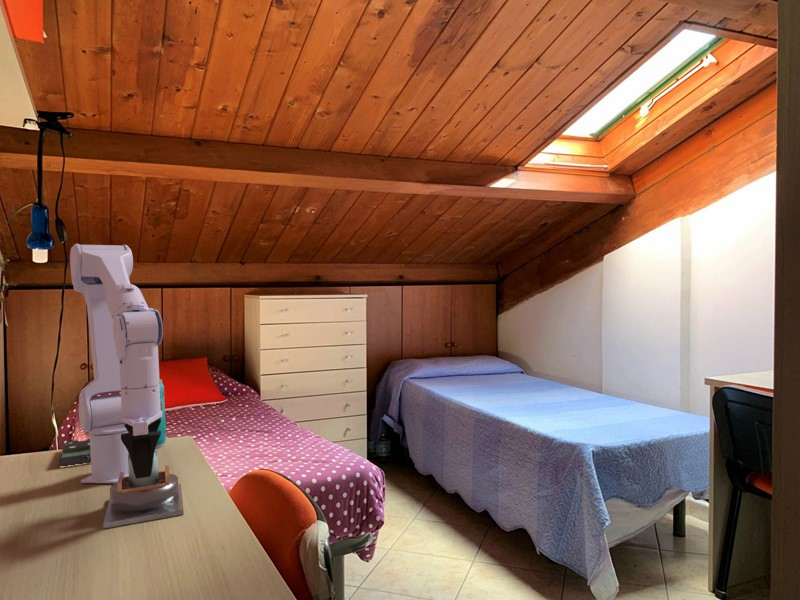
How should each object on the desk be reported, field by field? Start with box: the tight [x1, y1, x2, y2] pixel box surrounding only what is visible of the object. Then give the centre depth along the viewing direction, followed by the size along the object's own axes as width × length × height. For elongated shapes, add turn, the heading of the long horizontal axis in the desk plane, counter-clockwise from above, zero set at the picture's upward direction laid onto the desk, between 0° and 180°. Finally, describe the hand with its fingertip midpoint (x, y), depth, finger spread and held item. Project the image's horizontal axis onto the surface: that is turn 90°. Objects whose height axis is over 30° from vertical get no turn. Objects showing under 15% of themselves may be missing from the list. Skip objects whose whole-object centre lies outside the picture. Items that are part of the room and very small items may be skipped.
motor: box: [102, 465, 185, 530], centre depth 90 cm, size 13×11×5 cm
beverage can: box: [155, 378, 167, 450], centre depth 126 cm, size 6×6×15 cm
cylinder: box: [128, 448, 160, 488], centre depth 90 cm, size 4×4×5 cm
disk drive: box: [58, 438, 91, 467], centre depth 122 cm, size 10×3×15 cm
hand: (144, 470), depth 90 cm, fingers open, 7 cm apart
